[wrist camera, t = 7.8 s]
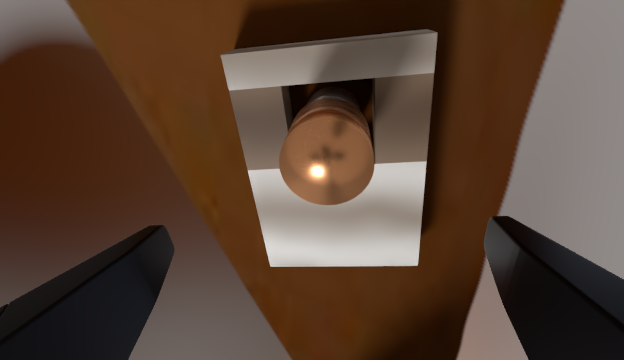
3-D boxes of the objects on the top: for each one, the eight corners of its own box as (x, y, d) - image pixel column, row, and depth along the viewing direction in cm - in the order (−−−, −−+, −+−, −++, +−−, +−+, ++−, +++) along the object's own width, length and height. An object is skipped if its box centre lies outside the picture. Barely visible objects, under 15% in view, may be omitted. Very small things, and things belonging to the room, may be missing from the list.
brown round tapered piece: (352, 152, 19) (355, 215, 13) (292, 133, 19) (270, 190, 13) (375, 92, 17) (390, 137, 11) (309, 71, 17) (291, 107, 11)
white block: (412, 245, 22) (417, 265, 20) (276, 247, 23) (270, 266, 22) (427, 28, 15) (437, 32, 14) (233, 49, 17) (220, 54, 15)
